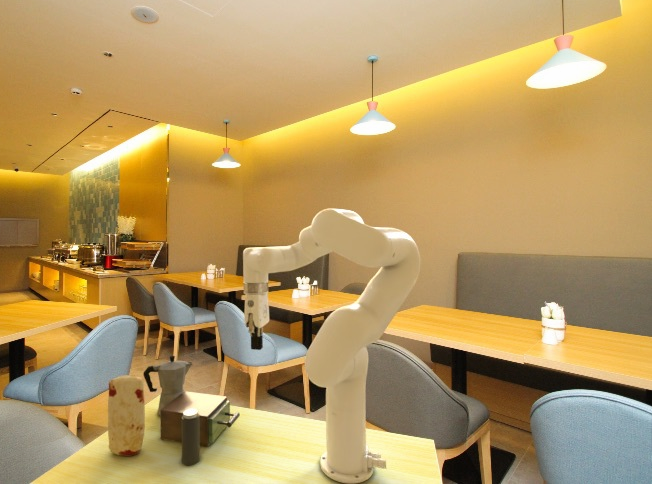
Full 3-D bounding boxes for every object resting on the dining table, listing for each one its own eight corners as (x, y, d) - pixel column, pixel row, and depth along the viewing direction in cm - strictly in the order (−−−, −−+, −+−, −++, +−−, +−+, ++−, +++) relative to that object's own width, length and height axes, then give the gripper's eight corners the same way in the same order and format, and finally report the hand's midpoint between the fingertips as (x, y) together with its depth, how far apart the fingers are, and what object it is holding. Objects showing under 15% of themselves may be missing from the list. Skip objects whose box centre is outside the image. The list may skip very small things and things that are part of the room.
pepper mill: (194, 466, 86) (193, 417, 87) (178, 463, 88) (178, 415, 88) (202, 456, 91) (202, 409, 91) (187, 453, 92) (187, 407, 92)
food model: (102, 459, 90) (101, 380, 90) (116, 444, 96) (116, 370, 97) (139, 460, 89) (138, 381, 89) (150, 445, 96) (150, 371, 96)
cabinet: (227, 423, 107) (227, 396, 107) (207, 446, 95) (207, 416, 95) (184, 417, 111) (184, 391, 111) (160, 439, 99) (160, 409, 99)
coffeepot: (190, 401, 122) (190, 349, 122) (195, 413, 113) (195, 357, 114) (142, 410, 116) (142, 355, 116) (144, 424, 107) (144, 364, 107)
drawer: (243, 423, 105) (243, 402, 105) (227, 445, 94) (227, 421, 94) (190, 416, 110) (190, 395, 110) (168, 435, 99) (168, 413, 99)
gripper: (259, 291, 99) (260, 357, 99) (274, 285, 113) (275, 342, 113) (234, 291, 101) (235, 355, 101) (252, 284, 116) (253, 341, 115)
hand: (256, 348), depth 107 cm, fingers closed
